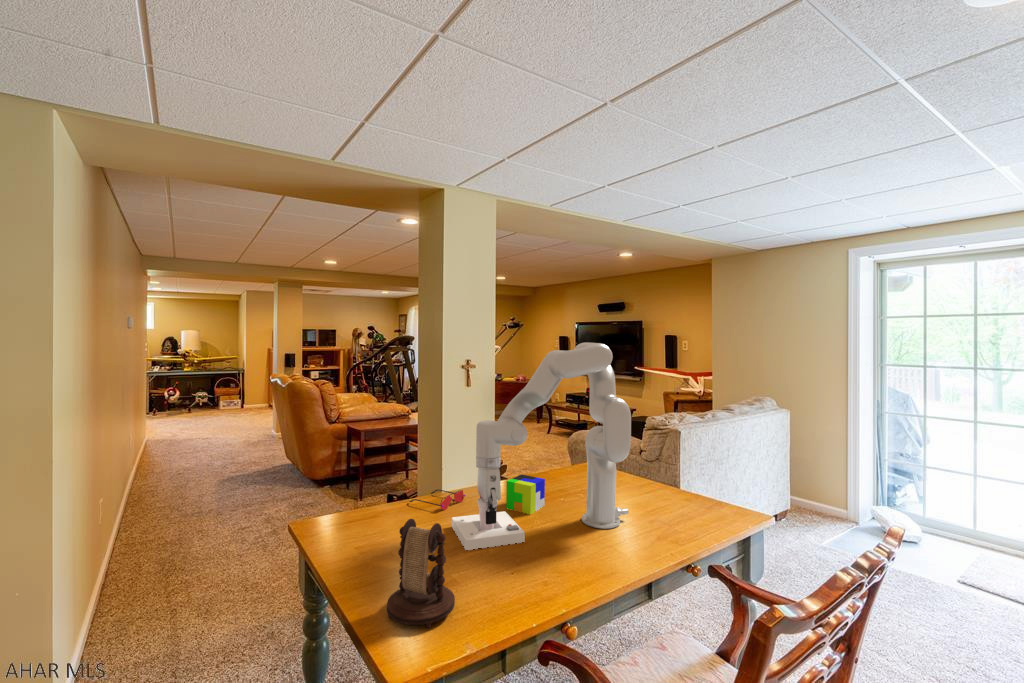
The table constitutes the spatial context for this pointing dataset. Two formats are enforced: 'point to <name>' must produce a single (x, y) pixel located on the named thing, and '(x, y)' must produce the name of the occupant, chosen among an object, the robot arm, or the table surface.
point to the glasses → (447, 499)
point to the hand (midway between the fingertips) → (487, 519)
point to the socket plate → (487, 531)
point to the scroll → (420, 578)
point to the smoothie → (484, 514)
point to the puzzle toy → (525, 494)
